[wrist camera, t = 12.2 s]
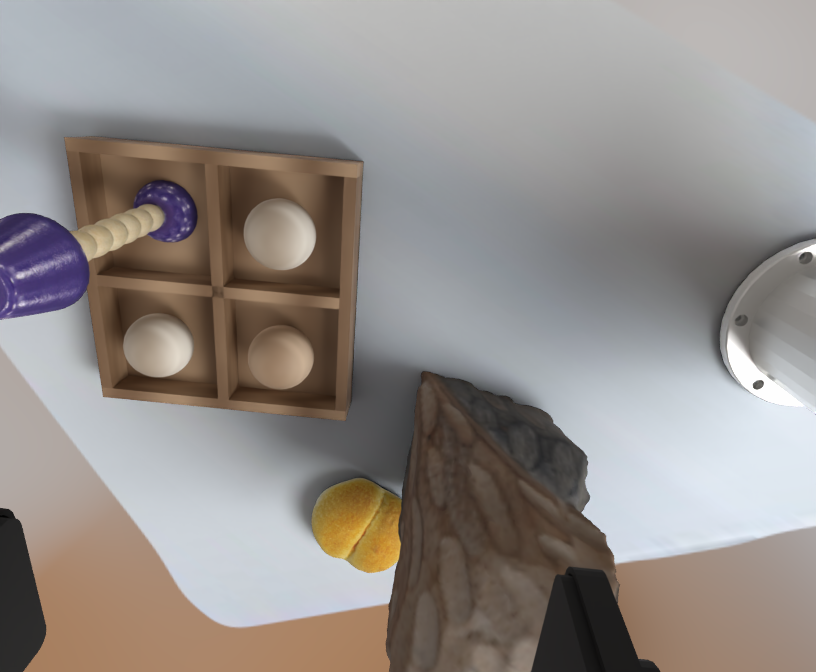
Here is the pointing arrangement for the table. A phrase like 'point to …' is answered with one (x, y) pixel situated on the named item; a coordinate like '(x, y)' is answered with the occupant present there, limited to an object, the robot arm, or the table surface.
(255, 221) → the egg
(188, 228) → the toy lamp
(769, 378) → the robot arm
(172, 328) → the egg
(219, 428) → the table surface
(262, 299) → the organizer
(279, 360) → the egg
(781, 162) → the table surface
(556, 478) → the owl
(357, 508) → the bread roll
